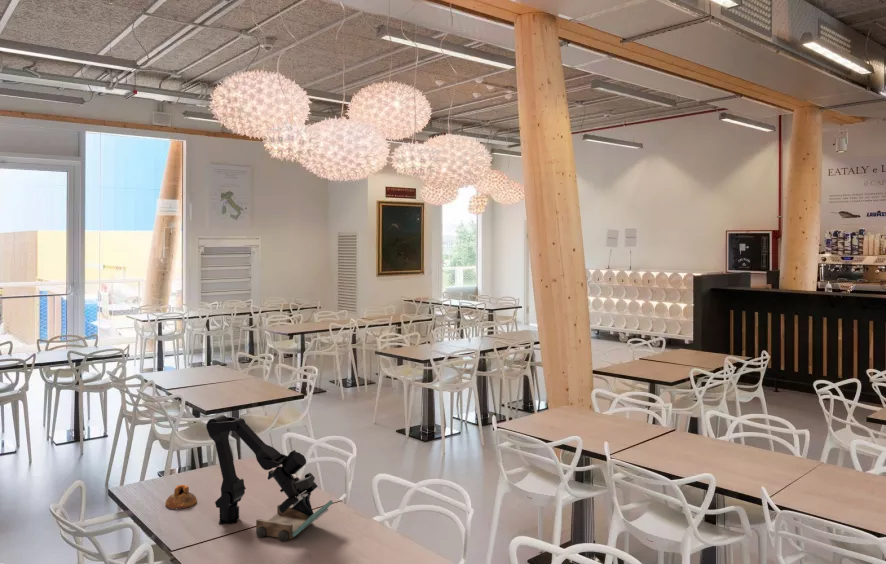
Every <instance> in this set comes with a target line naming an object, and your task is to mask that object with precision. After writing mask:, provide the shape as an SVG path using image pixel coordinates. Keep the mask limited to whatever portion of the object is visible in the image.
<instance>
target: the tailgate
mask: <svg viewBox="0 0 886 564" xmlns="http://www.w3.org/2000/svg"><path fill="white" fill-rule="evenodd" d="M333 503H334V502H333V500H329V501H328V502H327V503H325V504H324V505H322V506H321V507H320V508H319V509H318V510H316V511H315V512H313V513H314V514H312V515H311V516H310V517H309V518H308V519H307V520H306V521H305V522H304V523H303V524H302V525H301V526H300V527H299V528H298V529H297V530H296V531H295V532H294V533H293V534H292V535H293V537H294V538H295V537H296V536H298V534H300V533H301V532H302V531H304V530H305V529H306V528H307V527H309V526H310V525H311V524H312V523H313V522H315V521H317V520H318V519H320V518H322V516H323V515H324V514H326V513H327V512H328V511H329V507H331V505H333ZM308 525H309V526H308ZM303 529H304V530H303Z"/></svg>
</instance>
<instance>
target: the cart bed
mask: <svg viewBox="0 0 886 564" xmlns="http://www.w3.org/2000/svg"><path fill="white" fill-rule="evenodd" d="M279 505H280V504H278V505H277V506H276V507H277V509H276V510H277V511H276V514H274V515H273V516H272V517H271V518H269V519H262V518H258V519H256V525H255V527H256V529H255V530H256V532H255V534H256V536H257V537H258V538H260V539H261V538H264V537H265V536H267V537H272V538H278V539H279V540H280V541H281V542H286V541H287V540H290V541H291V540H293V539H294V538H295V537H293V535H292V534H293V533H294V532H295V531H296V530H297V529H298V528H299V527H300V526H301V525H302V524H303V523H304V522H305V521H306V520H307V519H308V518H309V516H307V515H305V514H303V513H301V512H299V511H297V510H294V509H291V508H292V507H293V505H291V506H290V507H289V508H288V509H287V510H286V511H285V512H284V513H282V514H281V512H280V511H279ZM309 526H310V525H308V526H307V527H309ZM304 530H305V529H303V530H302V531H304Z"/></svg>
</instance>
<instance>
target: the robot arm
mask: <svg viewBox="0 0 886 564" xmlns="http://www.w3.org/2000/svg"><path fill="white" fill-rule="evenodd" d="M205 425H206V426H205V427H206V430H207V433H208V436H209V437H210V439H212V441H213V442H214V444H215V448H216V453H217V457H218V459H217V460H218V462H219V467H220V473H221V477H222V483H221V486H220V496H219V498H217V500H216V501H215V502H214V504H215V506H216V508H218V509H219V519H218V520H219V521H218V524H219V525H222V524H223V525H224V524H225V525H226V524H236V523H238V520H239V519H240V506H239V502H240V501H242V498H243V496H244V495H245V491H246V490H247V488H246V486H245V481H244V478H239V477H238V476H237V472H236V468H235V463H234V458H233V454H232V453H233V452H232V449H231V445H230V440H229V437H230V434H231V432H234V433H235V434H236V435H237V436H238V437H239V438H240V439H241V440H242V441H243V442H244V444H245V445H246V446H247V447H249V449H250V450H251V451H252V452H253V453H254V455H255V458H256V461H257V463H258V464H259V466H260V467H261V468H262V469H263V470H265V471H268V476H267V480H270V479H274V481H275V482H276V483H277V485H278V486H279V487H280V488H281V489H280V490H279V491H280V493H284V494H285V495H286V497H287V498H286V499H285V500H284V501H283V502H281V504H278V505H279V511H280V512H281V514H282V513H284V512H285V511H286V510H287V509H288V508H289V507H290V506H292V508H291V509H294V510H297V511H299V512H301V513H303V514H305V515H307V516H309V517H310V516H311V515H312V514H314V513H315V512H314V510H313V508H312V505H311V501H310V499H311V495H312V492H313V491H315V490H316V489H317V488H318V487H319V486H318V484H317V483H316V482H315V480H316V479H315V478H316V477H315V476H314V475H313V474H312V472H308V473H306V474H304V477H303V478H301V479H300V478H299V477H298V476H296V477H295V476H294V475H296V474H297V473H298V472H299V471H300V470H301V469H303V468H304V466H306V464H307V459H306V457H305V455H303V454H302V453H300V452H297V451H296V450H295V449H294V450H292V451H290V452H289V453H288V455H286V454H283V453H281V452H280V451H278V450H277V449H276V448H274V447H273V446H272V445H271V446H270V445H268V444H266V443H265V442H264V441H263V439H261V437H259V435H257V434H256V433H255V431H254V430H253V429H252V428H251V427H250V426H249V425H248V423H246V421H245V419H244V418H242V417H240V418H239V417H238V418H237V417H233V416H227V415H225V414H221V415H218V416H215V417H214V418H213V417H212V418H211V419H208V421H207V423H206V424H205ZM274 468H275V469H274Z"/></svg>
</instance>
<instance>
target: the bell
mask: <svg viewBox="0 0 886 564" xmlns="http://www.w3.org/2000/svg"><path fill="white" fill-rule="evenodd" d="M173 491H174V493H172V494H170V495H169V496H168V497H167V499H166V501H165V503H164V504H165V507H166V508H167V507H168V508H167V509H169V508H172V509H171V510H181V509H180V508H184V509H187V507H188V508H190V507H193V506H195V505H196V503H197V501H198V499H197V496H196V495H195V494H194V493H191V492H189V491H190V489H189V486H188V485H187V484H179V485H177V486H175V488H174V490H173ZM192 505H193V506H192ZM175 508H177V509H175Z"/></svg>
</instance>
